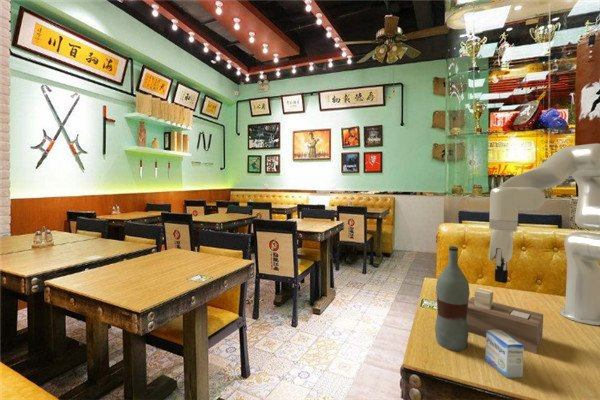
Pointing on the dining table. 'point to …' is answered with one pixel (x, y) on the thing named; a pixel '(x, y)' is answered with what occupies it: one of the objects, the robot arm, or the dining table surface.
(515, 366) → the medicine box
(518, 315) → the pale grey block
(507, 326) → the block
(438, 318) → the bottle
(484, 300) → the ash peg
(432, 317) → the dining table surface
